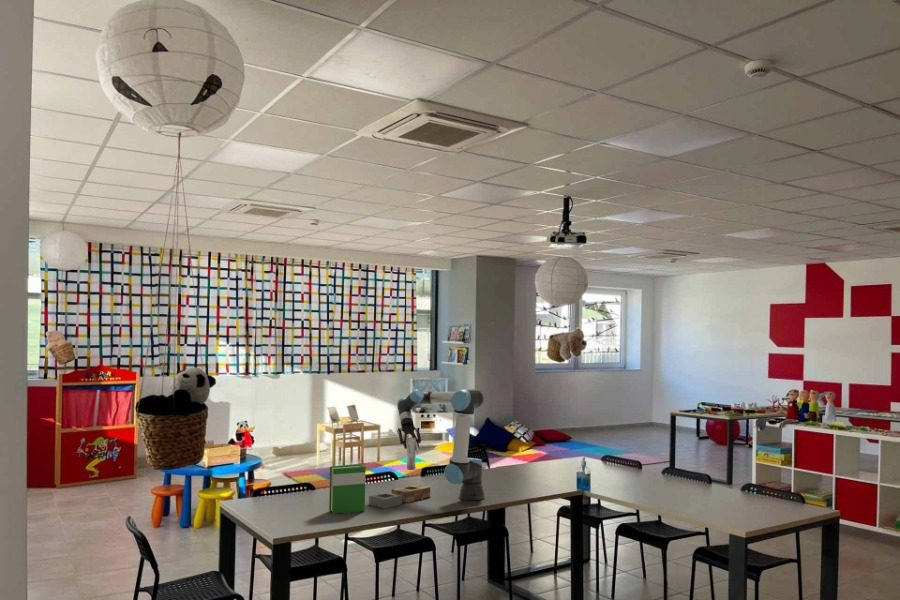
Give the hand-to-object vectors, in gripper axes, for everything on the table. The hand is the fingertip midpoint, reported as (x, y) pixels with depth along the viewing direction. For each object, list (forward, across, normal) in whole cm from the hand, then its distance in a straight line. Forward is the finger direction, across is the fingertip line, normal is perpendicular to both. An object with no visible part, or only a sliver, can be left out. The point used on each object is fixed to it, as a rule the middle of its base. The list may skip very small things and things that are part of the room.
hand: (412, 452), depth 399 cm
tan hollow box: (+17, 0, -22) cm, 28 cm away
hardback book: (+32, +41, -7) cm, 52 cm away
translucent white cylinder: (+5, 0, -10) cm, 11 cm away
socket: (+25, +18, -14) cm, 33 cm away
